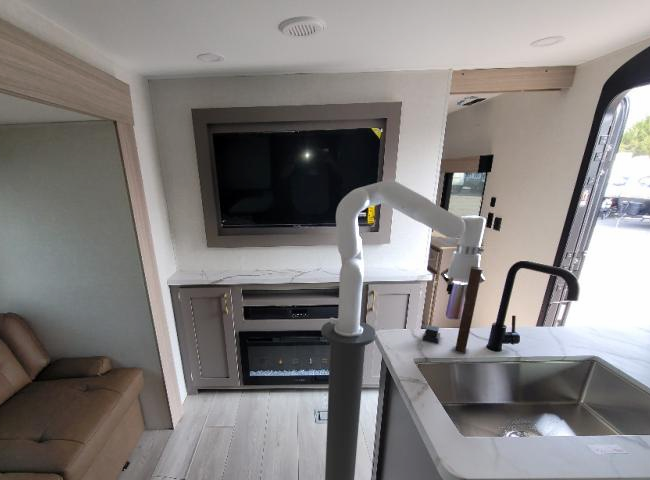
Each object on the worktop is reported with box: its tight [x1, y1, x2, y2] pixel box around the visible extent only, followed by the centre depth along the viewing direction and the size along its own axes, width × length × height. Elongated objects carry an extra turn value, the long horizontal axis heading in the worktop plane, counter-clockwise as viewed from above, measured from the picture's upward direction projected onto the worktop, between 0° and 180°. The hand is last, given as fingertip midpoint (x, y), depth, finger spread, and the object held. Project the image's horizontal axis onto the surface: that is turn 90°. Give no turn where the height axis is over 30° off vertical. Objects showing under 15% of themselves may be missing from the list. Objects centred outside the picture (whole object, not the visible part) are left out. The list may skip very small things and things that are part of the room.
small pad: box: [425, 324, 440, 337], centre depth 137 cm, size 4×4×3 cm
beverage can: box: [445, 279, 468, 321], centre depth 129 cm, size 6×6×15 cm
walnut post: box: [454, 266, 484, 354], centre depth 124 cm, size 4×4×34 cm
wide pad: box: [422, 329, 441, 345], centre depth 138 cm, size 6×6×2 cm
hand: (458, 294), depth 128 cm, fingers closed on beverage can, 6 cm apart
